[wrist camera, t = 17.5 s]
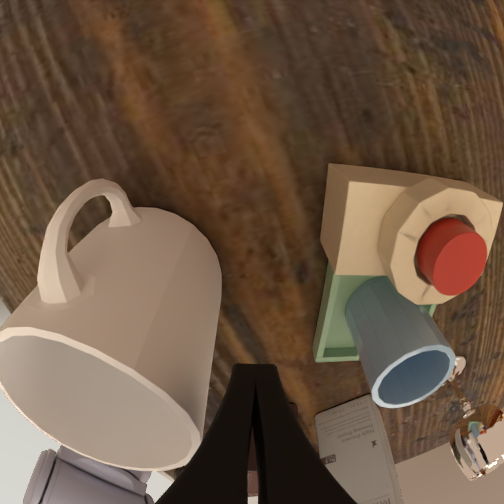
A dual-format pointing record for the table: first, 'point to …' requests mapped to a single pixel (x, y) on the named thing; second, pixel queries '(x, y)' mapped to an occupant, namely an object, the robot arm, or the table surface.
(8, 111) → the table surface
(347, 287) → the tray
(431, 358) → the cup
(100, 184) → the mug
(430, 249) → the button
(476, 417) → the wineglass
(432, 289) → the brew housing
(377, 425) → the cosmetic box
